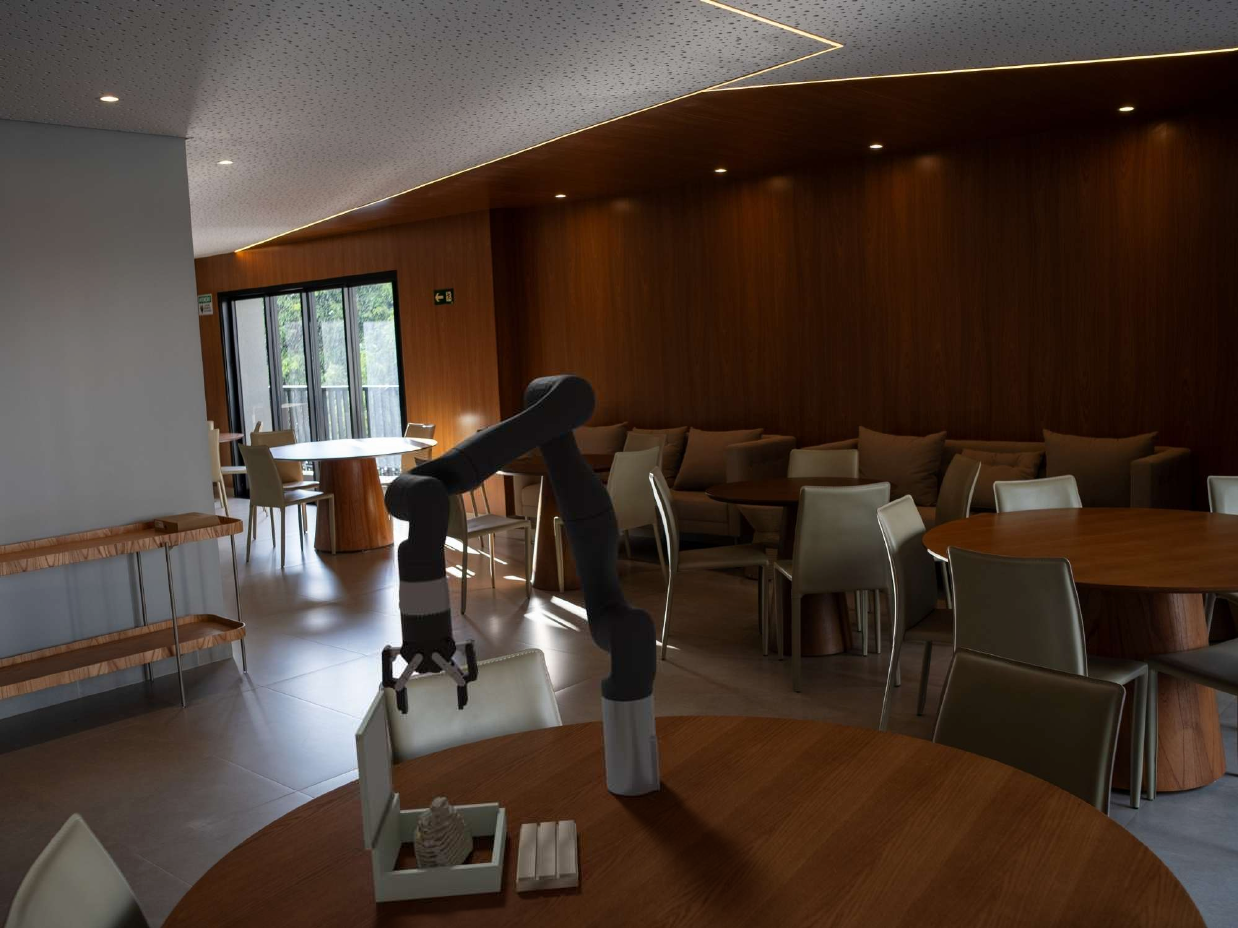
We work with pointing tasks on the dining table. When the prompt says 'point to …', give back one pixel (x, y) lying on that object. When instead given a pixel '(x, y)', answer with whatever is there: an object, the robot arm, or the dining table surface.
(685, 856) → the dining table surface
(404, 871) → the cold frame
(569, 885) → the slatted stand
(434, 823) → the fossil tooth
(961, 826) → the dining table surface
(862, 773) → the dining table surface
